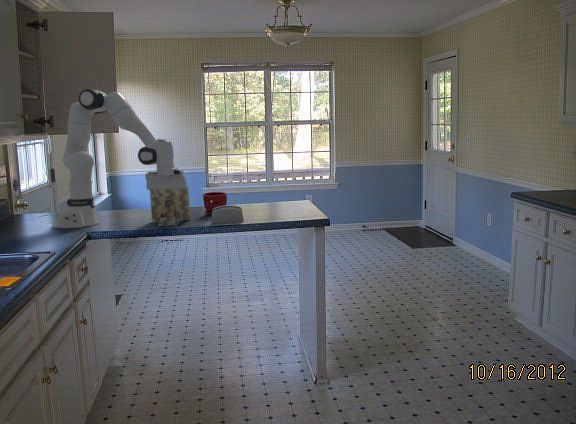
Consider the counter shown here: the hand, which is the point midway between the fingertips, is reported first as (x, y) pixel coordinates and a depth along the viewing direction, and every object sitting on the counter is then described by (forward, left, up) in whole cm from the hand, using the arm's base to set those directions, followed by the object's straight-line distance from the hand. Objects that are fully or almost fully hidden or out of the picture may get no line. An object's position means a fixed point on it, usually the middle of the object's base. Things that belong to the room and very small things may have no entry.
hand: (167, 198), depth 285 cm
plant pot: (+23, +20, -14) cm, 34 cm away
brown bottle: (0, 0, -12) cm, 12 cm away
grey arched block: (+30, -4, -14) cm, 33 cm away
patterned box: (0, 0, -13) cm, 13 cm away
